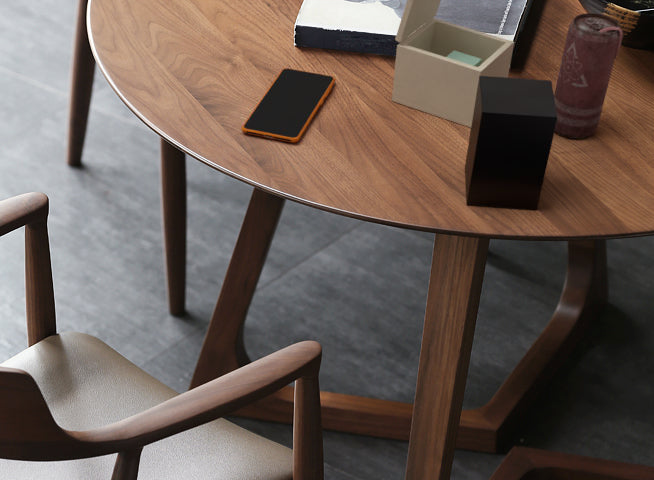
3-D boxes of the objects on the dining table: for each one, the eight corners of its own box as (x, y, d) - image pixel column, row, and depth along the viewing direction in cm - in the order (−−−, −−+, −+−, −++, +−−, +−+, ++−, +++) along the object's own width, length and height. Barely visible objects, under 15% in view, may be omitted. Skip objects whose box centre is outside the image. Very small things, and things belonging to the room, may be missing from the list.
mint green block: (476, 94, 140) (482, 58, 137) (462, 106, 138) (468, 71, 134) (448, 85, 142) (453, 50, 138) (434, 97, 139) (439, 62, 136)
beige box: (504, 97, 141) (514, 41, 136) (471, 128, 135) (481, 71, 130) (426, 72, 146) (433, 17, 140) (391, 101, 140) (397, 45, 134)
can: (595, 144, 133) (622, 38, 124) (544, 134, 135) (567, 28, 125) (601, 120, 137) (628, 16, 128) (551, 111, 139) (574, 7, 129)
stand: (532, 172, 128) (551, 80, 120) (537, 210, 122) (557, 117, 114) (464, 167, 129) (479, 75, 120) (466, 205, 123) (482, 111, 115)
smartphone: (239, 133, 133) (239, 127, 132) (283, 72, 144) (283, 66, 144) (298, 145, 131) (298, 138, 131) (337, 82, 143) (337, 76, 142)
